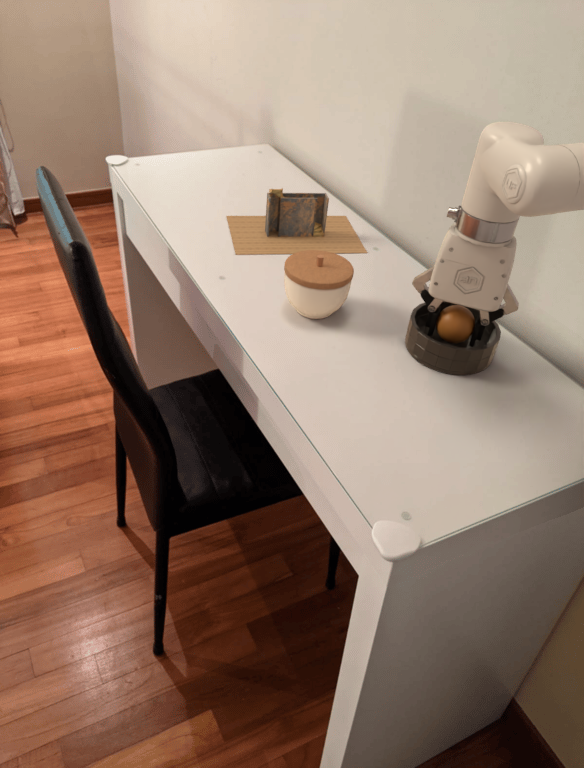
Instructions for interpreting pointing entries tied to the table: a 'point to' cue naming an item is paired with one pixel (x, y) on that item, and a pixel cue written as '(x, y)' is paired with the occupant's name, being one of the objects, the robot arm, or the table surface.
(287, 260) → the trinket box
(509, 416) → the table surface
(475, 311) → the bowl
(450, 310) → the orange ball
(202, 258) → the table surface
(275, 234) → the architectural model on board
